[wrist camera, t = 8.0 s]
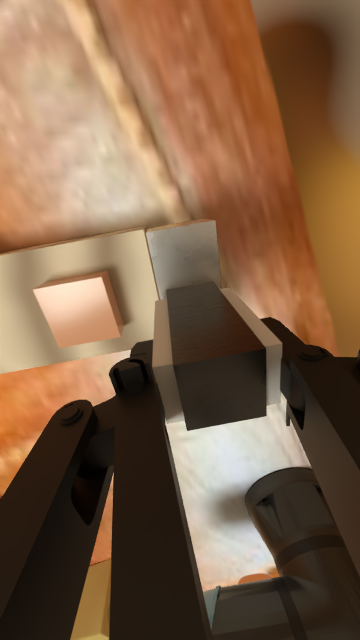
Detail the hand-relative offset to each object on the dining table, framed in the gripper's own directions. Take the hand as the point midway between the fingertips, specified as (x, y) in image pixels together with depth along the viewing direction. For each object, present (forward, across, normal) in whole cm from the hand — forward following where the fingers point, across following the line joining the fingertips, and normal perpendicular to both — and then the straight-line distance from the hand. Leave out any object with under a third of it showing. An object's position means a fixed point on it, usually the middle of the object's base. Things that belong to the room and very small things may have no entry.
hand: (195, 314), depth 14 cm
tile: (+6, +8, 0) cm, 10 cm away
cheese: (+12, +27, +63) cm, 70 cm away
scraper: (+5, 0, 0) cm, 5 cm away
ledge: (+11, +12, 0) cm, 16 cm away
